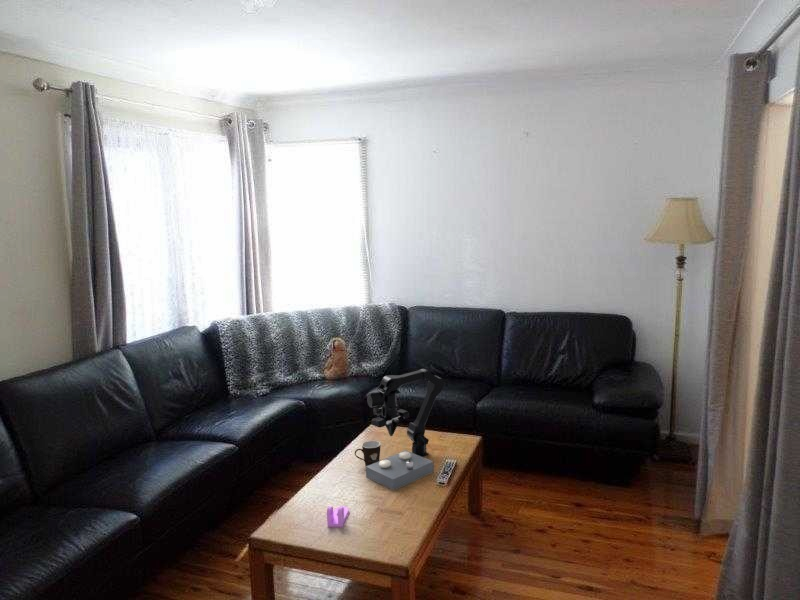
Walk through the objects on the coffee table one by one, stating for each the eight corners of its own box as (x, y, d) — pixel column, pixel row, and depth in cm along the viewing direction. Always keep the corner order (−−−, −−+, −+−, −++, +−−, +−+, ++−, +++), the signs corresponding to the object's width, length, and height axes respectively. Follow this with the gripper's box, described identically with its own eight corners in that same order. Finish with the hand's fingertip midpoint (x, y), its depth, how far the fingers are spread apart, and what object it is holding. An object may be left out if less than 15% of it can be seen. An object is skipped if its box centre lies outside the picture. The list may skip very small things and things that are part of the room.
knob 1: (385, 467, 261) (385, 458, 260) (393, 471, 257) (393, 462, 256) (376, 471, 257) (376, 462, 257) (384, 475, 253) (384, 466, 253)
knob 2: (405, 459, 269) (405, 450, 268) (413, 462, 265) (412, 454, 264) (397, 463, 265) (396, 454, 265) (404, 466, 261) (404, 457, 261)
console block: (405, 460, 274) (405, 450, 273) (433, 472, 261) (433, 461, 260) (366, 477, 258) (365, 466, 257) (393, 490, 245) (393, 479, 244)
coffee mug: (382, 460, 274) (381, 440, 272) (380, 469, 266) (379, 448, 264) (358, 460, 275) (357, 440, 274) (354, 468, 267) (353, 447, 265)
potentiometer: (409, 466, 256) (409, 456, 255) (414, 468, 254) (414, 458, 253) (404, 468, 254) (404, 458, 253) (409, 470, 252) (409, 460, 251)
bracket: (342, 527, 218) (341, 510, 217) (327, 526, 219) (326, 509, 218) (350, 509, 230) (349, 493, 229) (336, 509, 231) (335, 492, 230)
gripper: (393, 395, 281) (394, 426, 284) (363, 404, 269) (364, 436, 271) (409, 400, 273) (410, 431, 275) (379, 410, 261) (380, 443, 263)
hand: (391, 435), depth 271 cm, fingers closed
